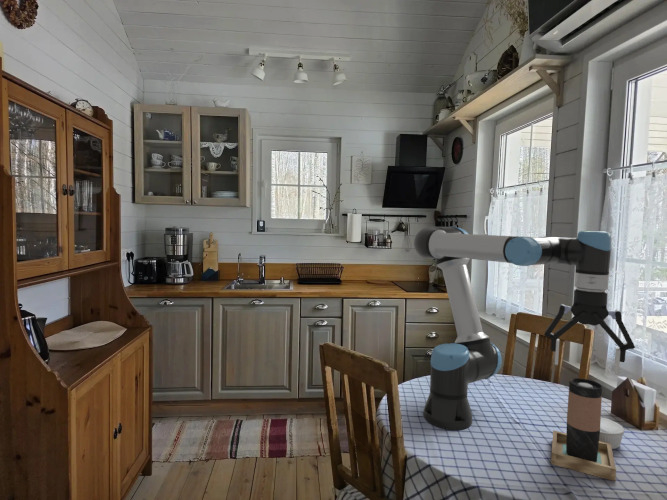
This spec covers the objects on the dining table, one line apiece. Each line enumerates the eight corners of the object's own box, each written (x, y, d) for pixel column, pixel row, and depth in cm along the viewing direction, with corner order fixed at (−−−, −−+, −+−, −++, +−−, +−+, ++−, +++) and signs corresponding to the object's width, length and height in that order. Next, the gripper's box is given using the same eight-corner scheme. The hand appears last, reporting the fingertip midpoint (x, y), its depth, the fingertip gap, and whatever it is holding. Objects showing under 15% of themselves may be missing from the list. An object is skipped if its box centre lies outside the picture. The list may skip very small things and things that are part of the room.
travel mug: (603, 465, 105) (608, 390, 104) (571, 461, 106) (575, 387, 105) (591, 450, 112) (595, 379, 111) (561, 446, 114) (564, 376, 113)
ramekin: (572, 440, 119) (573, 423, 119) (583, 428, 127) (584, 411, 127) (618, 456, 111) (619, 438, 111) (626, 442, 119) (627, 424, 119)
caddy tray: (551, 463, 107) (551, 452, 107) (552, 440, 119) (553, 430, 119) (615, 481, 100) (616, 469, 100) (610, 454, 112) (610, 443, 112)
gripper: (537, 286, 110) (532, 363, 111) (652, 296, 98) (646, 382, 99) (538, 283, 116) (534, 355, 118) (647, 292, 104) (641, 373, 105)
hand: (585, 368), depth 108 cm, fingers open, 13 cm apart
